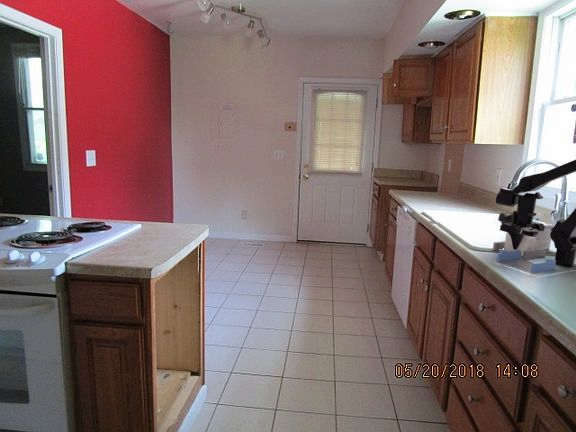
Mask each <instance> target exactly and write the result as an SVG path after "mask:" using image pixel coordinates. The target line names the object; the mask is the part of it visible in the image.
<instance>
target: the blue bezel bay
mask: <svg viewBox="0 0 576 432" xmlns="http://www.w3.org/2000/svg"><path fill="white" fill-rule="evenodd" d="M520 255H521V251H520V250H517V251H509V252H508V250H501V252H497V256H496V262H497V263H499V264H503V265H506V266H509V267H512V268H515V269H518V270H521V271H524V272H527V273H530V274H534V273H540V272H546V271H552V270H555V268H556V265H557V264H556V260H555V259H554V258H551V257H550V258H546V260H544V261H539V262H538V261H537V262H533V261H529V260H527V259H522V258H520Z"/></svg>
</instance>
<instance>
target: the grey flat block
mask: <svg viewBox="0 0 576 432" xmlns="http://www.w3.org/2000/svg"><path fill="white" fill-rule="evenodd" d="M492 245H493V247H492V250H493V251H496V252H497V253H501V250H499V249H503V248H504V245H505V240H503V241H495V242H493V244H492ZM546 251H547V250H546V249H545V248H542V249H534V250H527V251H524V254H523V256H521V255H520V259H523V260H530V259H537V258H543V257H545V255H546Z"/></svg>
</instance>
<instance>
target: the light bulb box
mask: <svg viewBox="0 0 576 432" xmlns="http://www.w3.org/2000/svg"><path fill="white" fill-rule="evenodd" d="M533 222H538V223H543V224H544V226H545V229H544V231H538V230H537V229H534V230H535V232H538V234H536V235H535V236H534V237H535V238H536V243H535V249H542V248H545V249H549V250H550V247H551V242H552V239H551V237H550V233H551V231H552V230H550V229H552V228H553V227H554V226H555V224H550V223H547V222H544V221H543V222H542V221H539V220H535V219H533Z"/></svg>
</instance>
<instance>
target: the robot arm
mask: <svg viewBox="0 0 576 432" xmlns="http://www.w3.org/2000/svg"><path fill="white" fill-rule="evenodd" d="M574 173H576V159H574V160H571V161H568V162H566V163H564V164H561V165H558V166H556V167H554V168H551V169H549V170H547V171H544V172H540V173H534V174H530V175H526V176H523V177H521V178H520V179H519V182H518V184H516V186H515V187H514V188H513V189H508V188H506V187H505V188H504V187H502V188H500V189H499V191H498V193H497V195H496V196H495V204H496V205H497V206H504V207H509V208H514V207H515V206H516V210H513V212H512V214H507V213H506V212H503V213H499V215H498V219H497V220H498V221H499V222H500V223H501V224H500V225H499V231H501V232H505V233H508V234H509V235H510V236H511V240H512V245H513V249H515V250H517V248H518V246H519V244H520V242H521V240H522V238H523V236H524V235H527V236H531V237H534V236H535V235H536V234H538V232H535V230H534V229H537V230H538V231H544V229H545V226H544V224H543V223H538V222H533V220H534V217H536V216H537V214H538V213H537V212H535V208H536V203H537V200H542V199H544V196H543V195H541V194H540V192H538V190H540V189H542V188H543V187H545V186H547V185H548V184H549V183H551V182H553V181H555V180H558V179H562V178H563V177H567V176H568V175H571V174H574ZM536 191H537V192H536ZM530 192H535V193H530ZM550 230H552V231H551V233H550V237H551V242H553V244H554V248H555V250H556V251H555V256H554V260H556V264H555V265H556V266H560V267H564V268H567V269H568V268H569V269H570V268H574V267H576V263H575V261H576V207H575V208H574V209H573V211H572V212H571V213H570V215H568V217H567V218H566V219H564V218H563V219H559V220H556V221H555V224H554V227H553V228H552V229H550Z"/></svg>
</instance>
